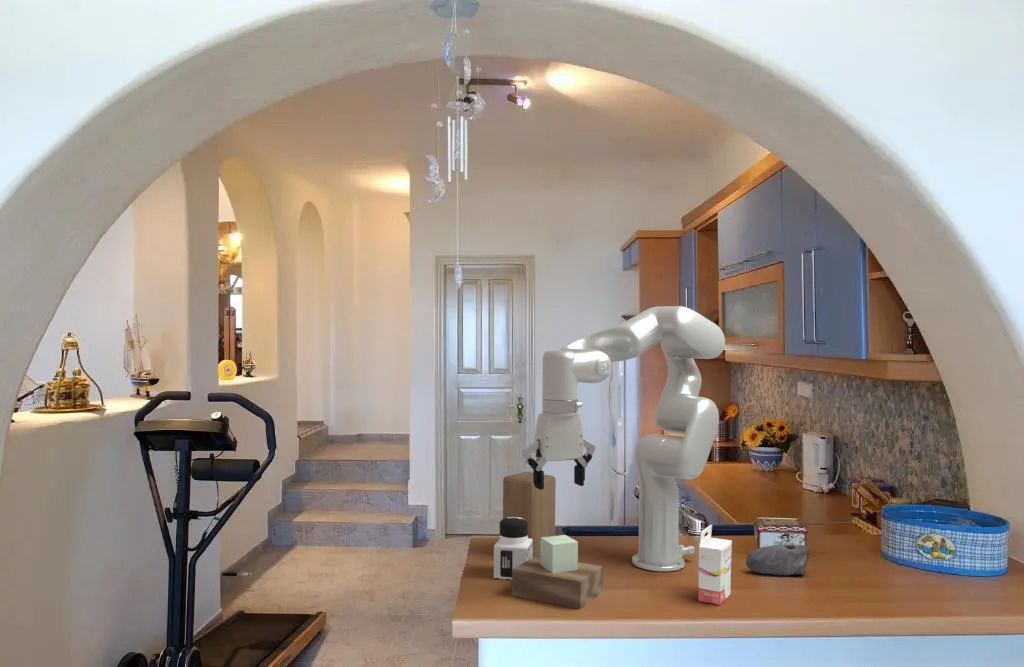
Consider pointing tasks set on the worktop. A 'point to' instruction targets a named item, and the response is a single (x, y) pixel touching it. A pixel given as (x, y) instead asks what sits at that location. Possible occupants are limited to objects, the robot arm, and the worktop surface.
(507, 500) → the block
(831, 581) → the worktop surface
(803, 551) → the perforated stone tool
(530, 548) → the container
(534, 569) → the walnut block
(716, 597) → the ink cartridge box
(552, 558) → the sage green cube
